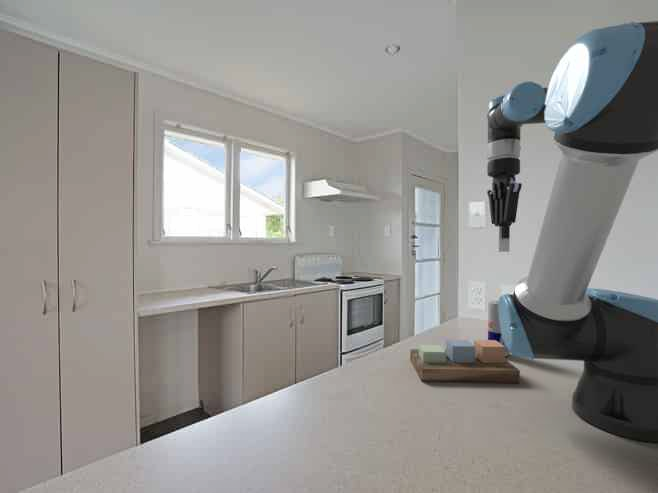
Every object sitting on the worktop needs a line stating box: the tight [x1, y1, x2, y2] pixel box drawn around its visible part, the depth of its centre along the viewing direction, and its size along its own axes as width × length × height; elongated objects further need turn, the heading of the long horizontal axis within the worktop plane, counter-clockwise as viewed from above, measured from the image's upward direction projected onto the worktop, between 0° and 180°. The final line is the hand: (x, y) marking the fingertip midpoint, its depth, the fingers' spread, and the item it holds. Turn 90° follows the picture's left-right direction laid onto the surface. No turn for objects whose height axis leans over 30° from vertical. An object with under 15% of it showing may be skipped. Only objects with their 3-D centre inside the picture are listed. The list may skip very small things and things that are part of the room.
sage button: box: [418, 344, 446, 363], centre depth 86 cm, size 5×5×4 cm
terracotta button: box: [473, 339, 506, 363], centre depth 86 cm, size 5×5×4 cm
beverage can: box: [487, 300, 511, 357], centre depth 98 cm, size 6×6×15 cm
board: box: [409, 348, 521, 384], centre depth 86 cm, size 14×22×3 cm, turn 87°
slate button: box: [445, 339, 476, 363], centre depth 86 cm, size 5×5×4 cm
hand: (502, 251), depth 89 cm, fingers closed
